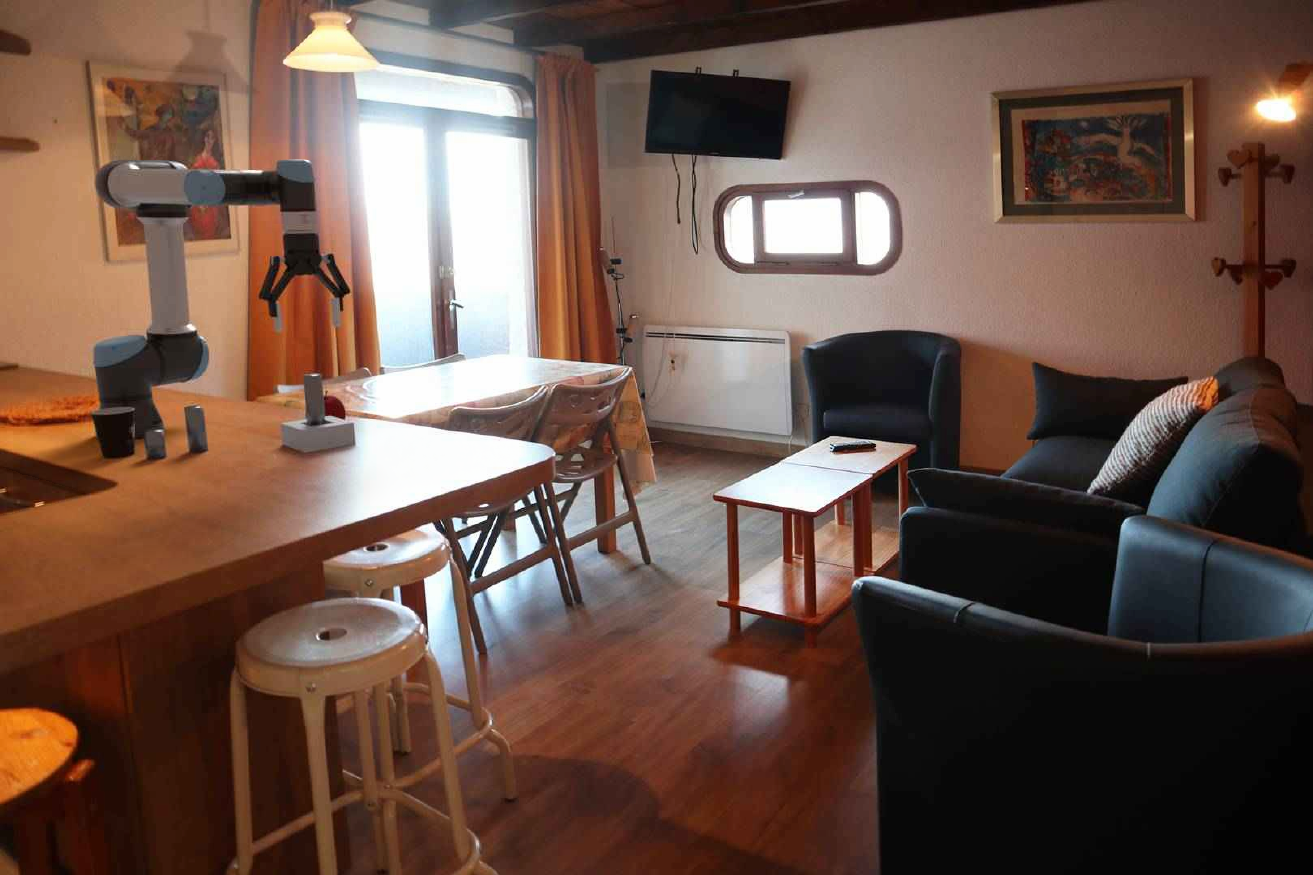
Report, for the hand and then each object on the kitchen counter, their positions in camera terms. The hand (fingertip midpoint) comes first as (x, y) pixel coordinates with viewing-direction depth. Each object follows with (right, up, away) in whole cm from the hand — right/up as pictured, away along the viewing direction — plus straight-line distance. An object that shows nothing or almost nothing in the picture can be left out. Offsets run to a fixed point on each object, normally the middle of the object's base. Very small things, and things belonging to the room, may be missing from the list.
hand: (308, 329), depth 240 cm
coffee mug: (-41, -28, 0) cm, 50 cm away
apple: (-2, -23, +21) cm, 31 cm away
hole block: (+1, -26, +5) cm, 26 cm away
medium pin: (-25, -27, +1) cm, 37 cm away
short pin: (-32, -29, -4) cm, 43 cm away
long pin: (+1, -26, +5) cm, 26 cm away
